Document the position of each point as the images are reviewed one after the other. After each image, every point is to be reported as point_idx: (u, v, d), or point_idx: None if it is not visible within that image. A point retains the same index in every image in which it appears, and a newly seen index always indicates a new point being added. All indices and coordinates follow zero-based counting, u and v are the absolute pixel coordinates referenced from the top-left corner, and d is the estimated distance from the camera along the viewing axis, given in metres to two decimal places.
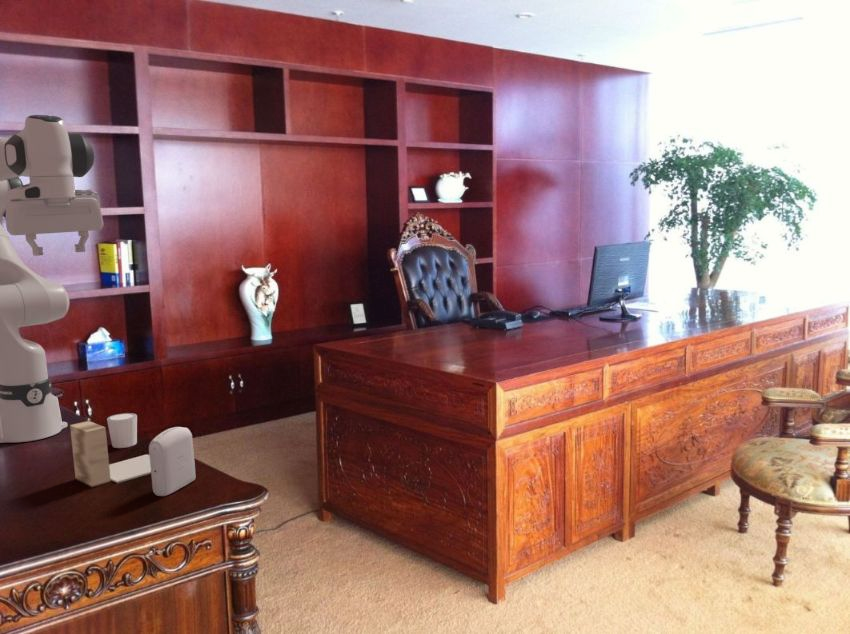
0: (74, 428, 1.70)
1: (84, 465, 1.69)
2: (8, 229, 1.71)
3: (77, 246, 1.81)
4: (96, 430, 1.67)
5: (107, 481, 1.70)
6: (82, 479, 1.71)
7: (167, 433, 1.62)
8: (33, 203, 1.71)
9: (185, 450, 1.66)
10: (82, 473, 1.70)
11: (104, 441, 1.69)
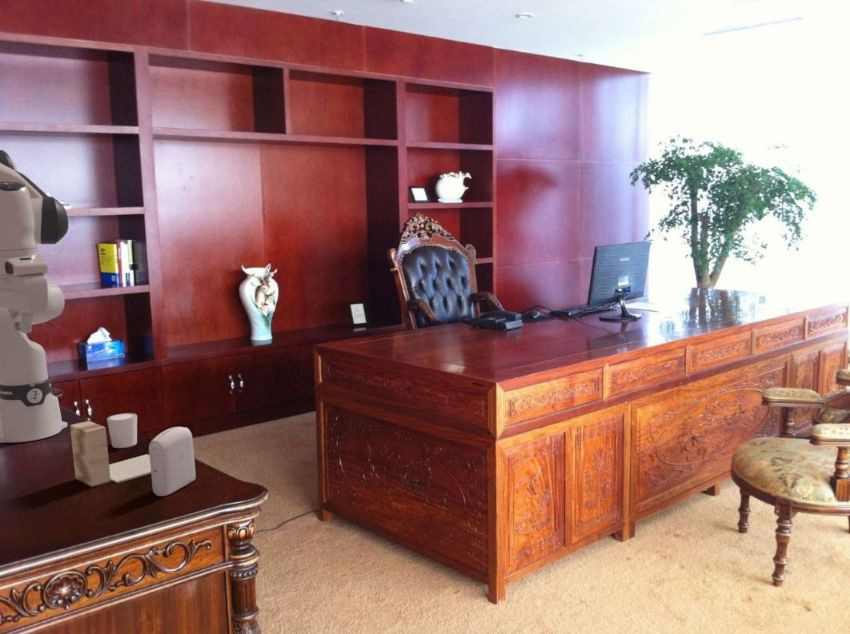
0: (74, 428, 1.70)
1: (84, 465, 1.69)
2: (35, 307, 1.55)
3: None
4: (96, 430, 1.67)
5: (107, 481, 1.70)
6: (82, 479, 1.71)
7: (167, 433, 1.62)
8: None
9: (185, 450, 1.66)
10: (82, 473, 1.70)
11: (104, 441, 1.69)
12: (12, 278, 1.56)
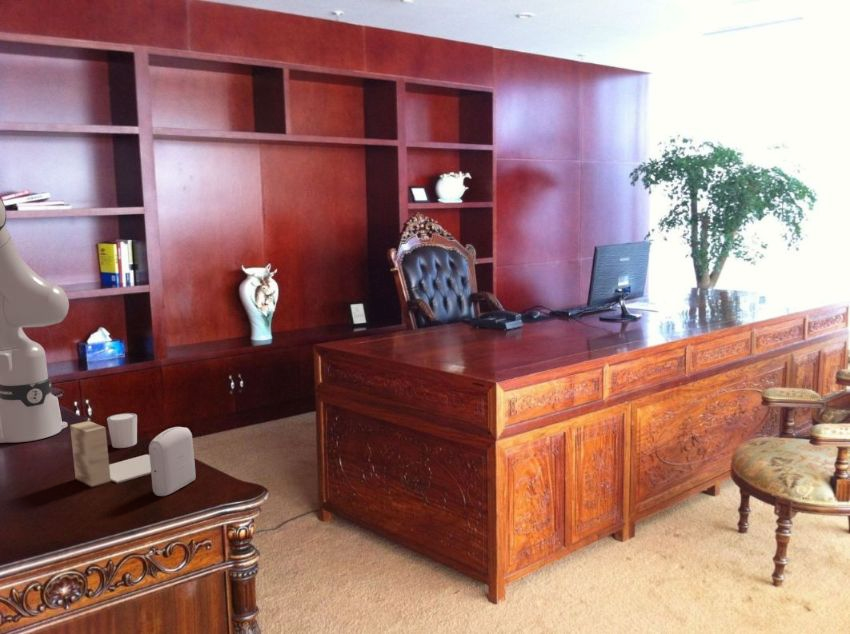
0: (74, 428, 1.70)
1: (84, 465, 1.69)
2: (6, 367, 1.48)
3: None
4: (96, 430, 1.67)
5: (107, 481, 1.70)
6: (82, 479, 1.71)
7: (167, 433, 1.62)
8: None
9: (185, 450, 1.66)
10: (82, 473, 1.70)
11: (104, 441, 1.69)
12: None
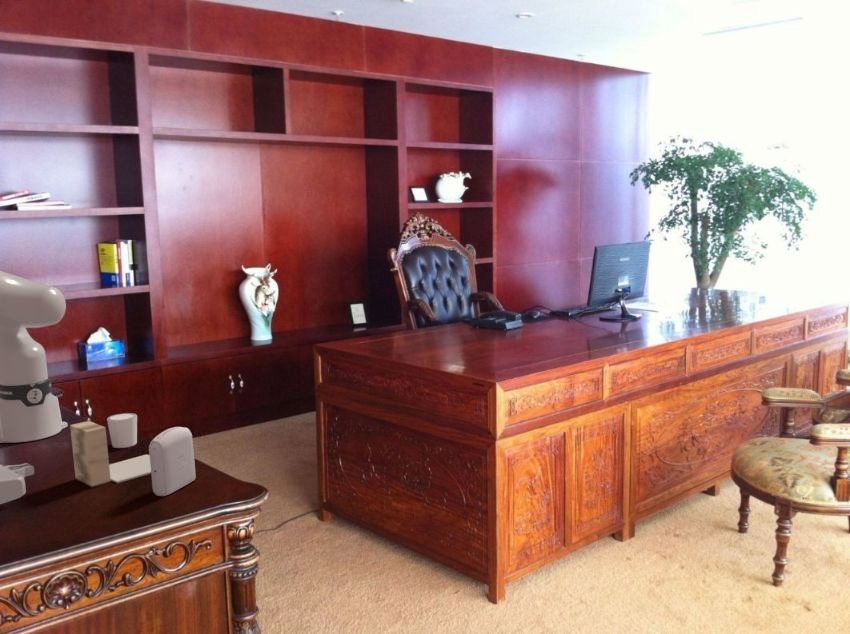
0: (74, 428, 1.70)
1: (84, 465, 1.69)
2: (20, 491, 1.51)
3: None
4: (96, 430, 1.67)
5: (107, 481, 1.70)
6: (82, 479, 1.71)
7: (167, 433, 1.62)
8: None
9: (185, 450, 1.66)
10: (82, 473, 1.70)
11: (104, 441, 1.69)
12: None
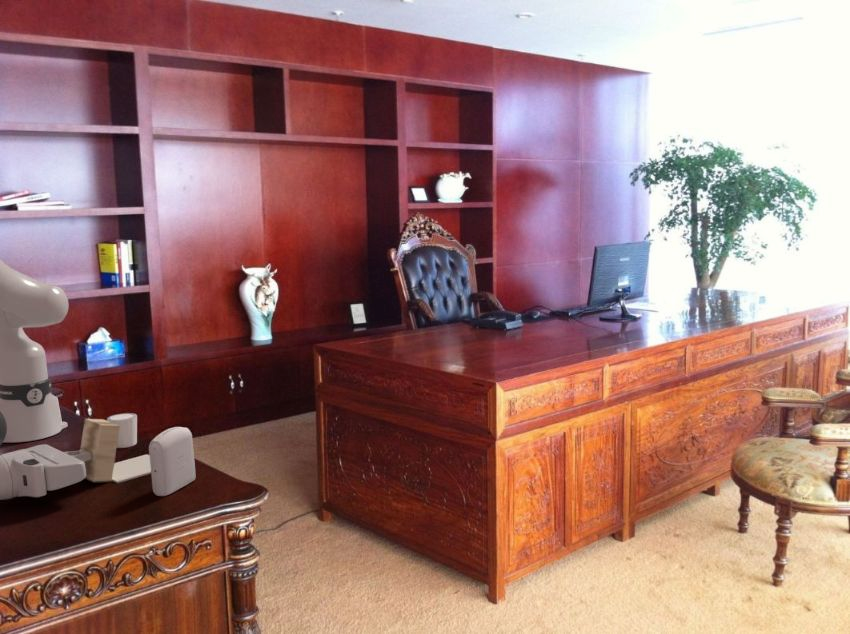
0: (89, 422, 1.72)
1: None
2: (81, 475, 1.59)
3: None
4: (111, 426, 1.70)
5: (108, 480, 1.70)
6: None
7: (167, 433, 1.62)
8: (43, 461, 1.58)
9: (185, 450, 1.66)
10: None
11: (115, 439, 1.71)
12: None
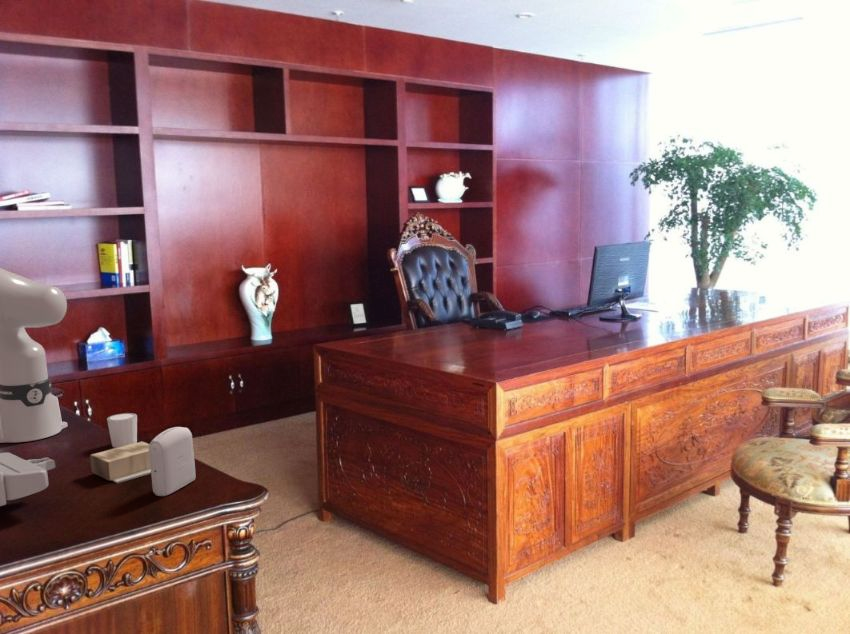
0: (145, 443, 1.82)
1: (119, 454, 1.75)
2: (43, 484, 1.53)
3: None
4: None
5: (110, 476, 1.70)
6: (100, 457, 1.73)
7: (167, 433, 1.62)
8: (3, 470, 1.52)
9: (185, 450, 1.66)
10: (107, 455, 1.74)
11: (148, 466, 1.77)
12: None
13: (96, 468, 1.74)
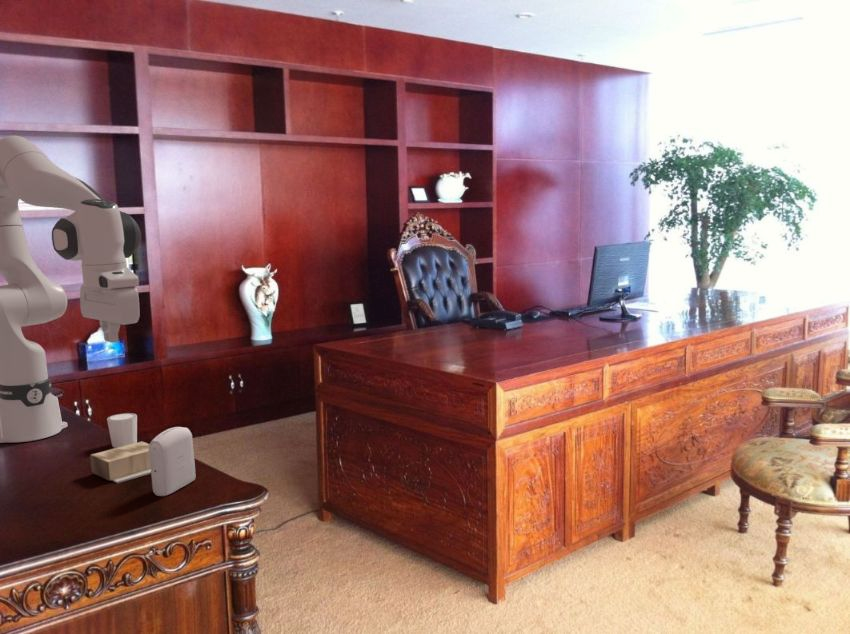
0: (145, 443, 1.82)
1: (119, 454, 1.75)
2: (128, 318, 1.64)
3: None
4: None
5: (110, 476, 1.70)
6: (100, 457, 1.73)
7: (167, 433, 1.62)
8: None
9: (185, 450, 1.66)
10: (107, 455, 1.74)
11: (148, 466, 1.77)
12: (106, 291, 1.65)
13: (96, 468, 1.74)
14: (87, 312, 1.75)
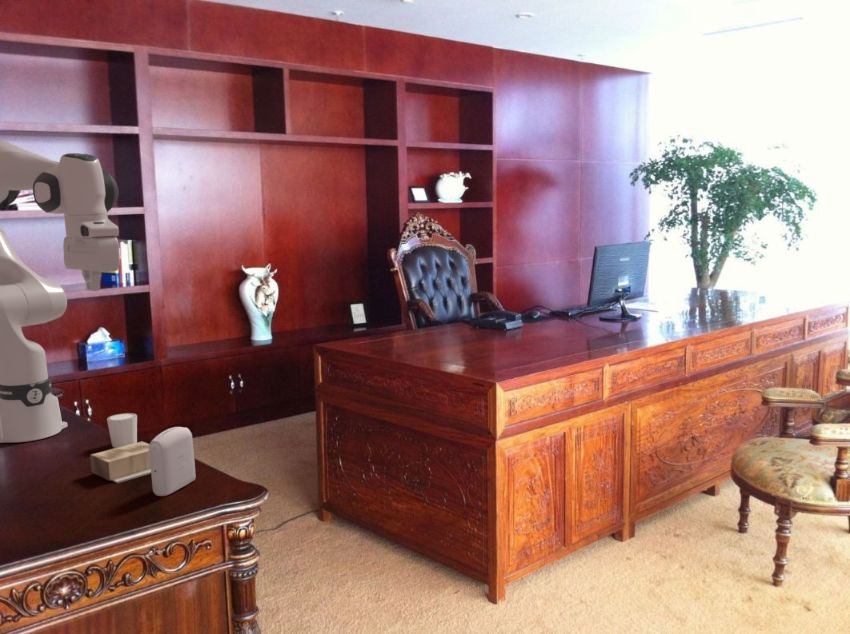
0: (145, 443, 1.82)
1: (119, 454, 1.75)
2: (108, 266, 1.71)
3: None
4: None
5: (110, 476, 1.70)
6: (100, 457, 1.73)
7: (167, 433, 1.62)
8: None
9: (185, 450, 1.66)
10: (107, 455, 1.74)
11: (148, 466, 1.77)
12: (87, 240, 1.72)
13: (96, 468, 1.74)
14: (70, 263, 1.82)
